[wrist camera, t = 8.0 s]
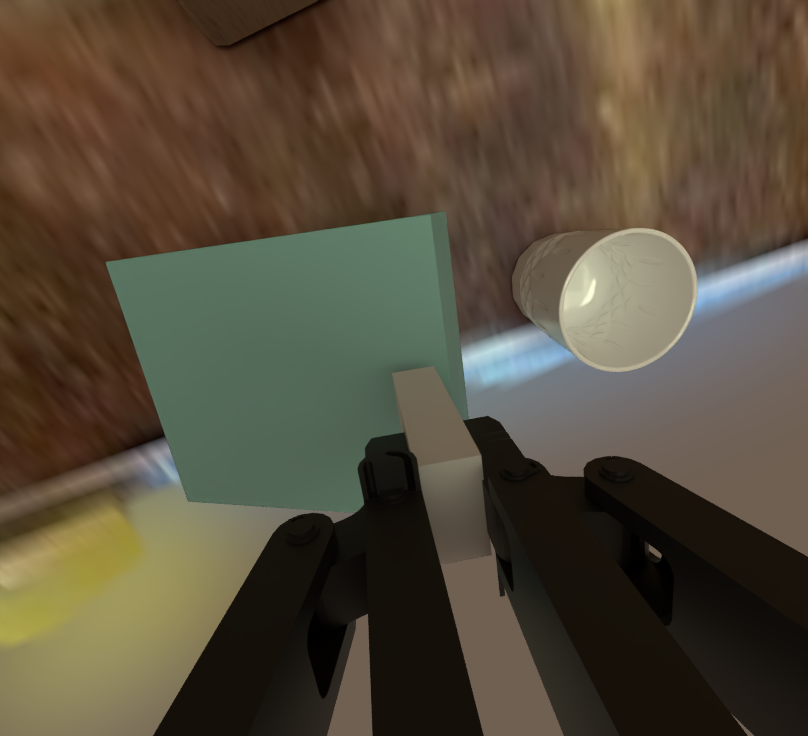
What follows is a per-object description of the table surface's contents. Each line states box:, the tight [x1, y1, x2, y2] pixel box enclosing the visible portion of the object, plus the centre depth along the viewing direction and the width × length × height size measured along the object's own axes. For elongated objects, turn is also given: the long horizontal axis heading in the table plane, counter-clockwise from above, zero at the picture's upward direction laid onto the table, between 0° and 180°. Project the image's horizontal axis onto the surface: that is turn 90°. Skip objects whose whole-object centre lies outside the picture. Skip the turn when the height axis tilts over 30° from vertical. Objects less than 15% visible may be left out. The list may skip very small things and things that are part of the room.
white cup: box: [511, 228, 697, 372], centre depth 30 cm, size 8×8×10 cm
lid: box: [106, 211, 469, 513], centre depth 22 cm, size 15×13×2 cm
